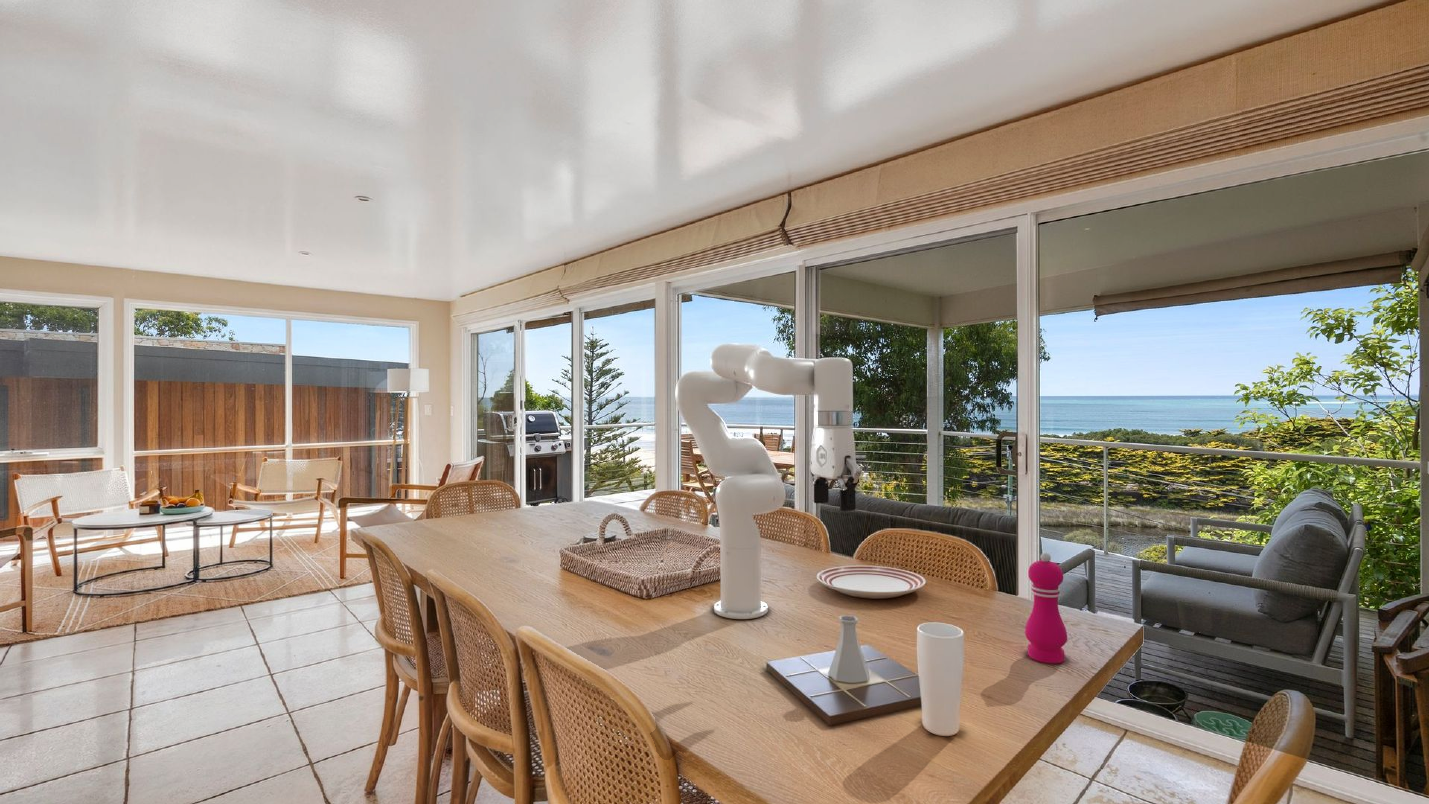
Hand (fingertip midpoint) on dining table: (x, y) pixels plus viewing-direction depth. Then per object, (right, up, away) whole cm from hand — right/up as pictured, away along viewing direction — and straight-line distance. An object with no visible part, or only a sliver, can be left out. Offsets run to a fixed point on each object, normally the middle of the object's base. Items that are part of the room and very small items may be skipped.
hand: (833, 506), depth 130 cm
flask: (0, -27, -16) cm, 31 cm away
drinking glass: (+10, -29, -31) cm, 44 cm away
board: (0, -28, -16) cm, 33 cm away
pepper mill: (+40, -28, -5) cm, 49 cm away
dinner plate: (+17, -28, +40) cm, 52 cm away
